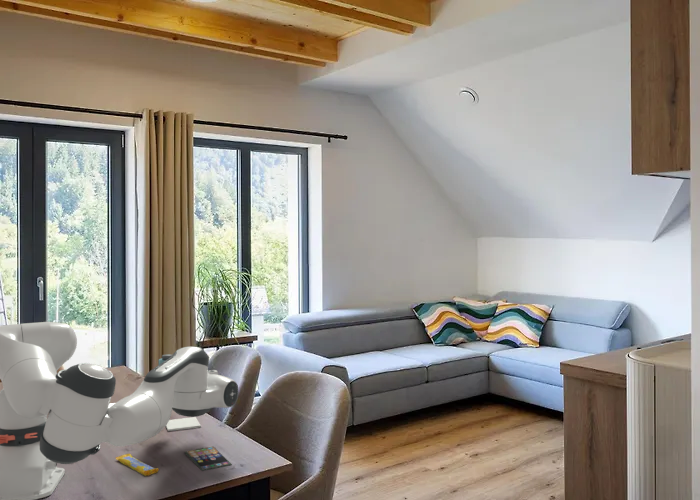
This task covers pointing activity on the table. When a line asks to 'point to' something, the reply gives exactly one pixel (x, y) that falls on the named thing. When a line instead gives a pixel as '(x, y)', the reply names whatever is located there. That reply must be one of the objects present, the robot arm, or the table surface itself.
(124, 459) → the candy bar
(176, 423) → the coaster
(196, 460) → the smartphone
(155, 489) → the table surface
